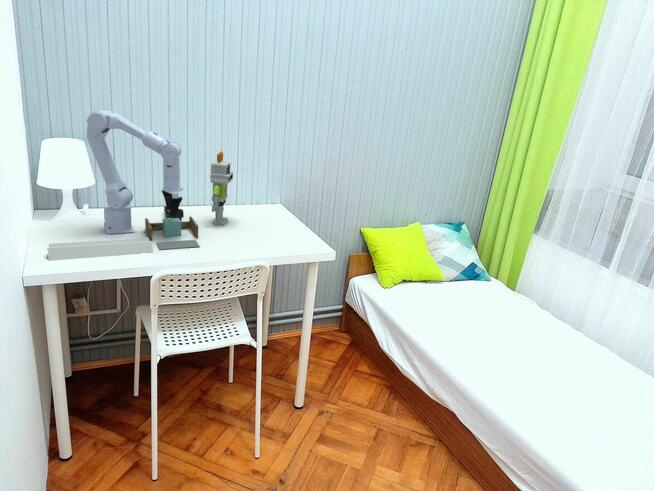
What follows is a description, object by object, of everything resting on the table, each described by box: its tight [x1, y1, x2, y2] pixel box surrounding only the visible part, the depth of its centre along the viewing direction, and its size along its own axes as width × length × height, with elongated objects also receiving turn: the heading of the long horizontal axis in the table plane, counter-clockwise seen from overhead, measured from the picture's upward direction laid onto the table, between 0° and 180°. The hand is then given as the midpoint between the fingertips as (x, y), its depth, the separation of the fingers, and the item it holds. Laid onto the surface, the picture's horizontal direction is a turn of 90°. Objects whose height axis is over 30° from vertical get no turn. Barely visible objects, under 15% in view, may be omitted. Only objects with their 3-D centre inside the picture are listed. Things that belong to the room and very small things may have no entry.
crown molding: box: [47, 237, 154, 262], centre depth 160 cm, size 31×12×4 cm, turn 118°
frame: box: [144, 216, 199, 242], centre depth 181 cm, size 17×12×5 cm
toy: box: [209, 150, 234, 227], centre depth 196 cm, size 16×8×30 cm, turn 179°
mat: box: [155, 239, 201, 251], centre depth 172 cm, size 14×7×1 cm, turn 118°
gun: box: [163, 205, 185, 222], centre depth 197 cm, size 4×20×10 cm, turn 28°
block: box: [162, 217, 182, 238], centre depth 181 cm, size 6×4×6 cm
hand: (171, 212), depth 179 cm, fingers open, 7 cm apart
